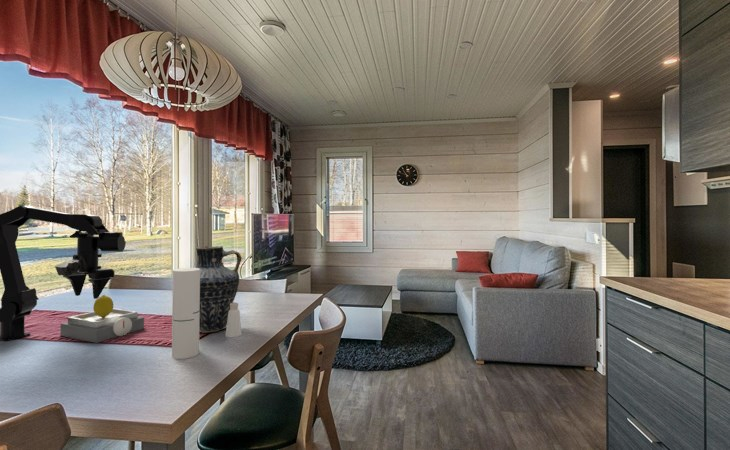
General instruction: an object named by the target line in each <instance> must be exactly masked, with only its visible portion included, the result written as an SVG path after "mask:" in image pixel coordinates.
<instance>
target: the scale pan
mask: <svg viewBox="0 0 730 450" xmlns="http://www.w3.org/2000/svg"><path fill="white" fill-rule="evenodd" d="M138 313H139V312H138V311H135V310H128V309H121V308H115V307H113V310H112V312H111V313H110V314H109V315H107V316H106V317H105V318H102V317H100V316H97V315H96V314H95V313H94V311H90V312H86V313H81V314H77V315H72V316H68V317H67V322H68V323H69V324H74V325H79V326H85V327H90V328H100V327H103V326H107V325H111V324H114V323H115V322H116V321H117V320H118V319H120V318H123V317H126V318H129V319H133V318H137V317H139V316H138Z"/></svg>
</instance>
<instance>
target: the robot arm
mask: <svg viewBox="0 0 730 450" xmlns="http://www.w3.org/2000/svg"><path fill="white" fill-rule="evenodd" d="M30 220H33V221H34V220H35V221H42V222H46V223H53V224H59V225H64V226H66V227H68V228H69V229H70V228H71V229H73V230H75V231H74V232H73V233H72V234H71V235H69V238H71V239H77V242H76V243H77V244H76V245H77V246H76V248H77V249H76V250H77V251H76V253H75V254H73V255H72V259H70V260H67V261H64V262H62V263H58V264H57V265H55V266H54V267H55V270H56V272H57V275H58V276H62V277H63V278H65V279H67V280H68V281H69V282H70V284H71V287H72V289H73V293H74V294H75V296H76V297H77V296H80V295H81V294H82V290H83V288H84V284H85V281H86V278H87V276H88V278H89V279H87V281H88V282H89V283H90V284H92V285H91V286H92V296H93V299H98V298H99V297H100V295H101V294H102V291H103V290H104V288H105V287H106V286H107V285H108V282H109V281H110V280H112V279H113V278H115V273H116V272H115V270H114V269H113V268H107V267H103V268H102V265H99V258H102V253H99V250H100V251H101V252H108V253H109V252H110V253H111V252H113V253H117V252H118V253H122V252H124V250H125V248H126V240H125V237H124V233H123V231H118V232H111V231H109V230H108V229H107V227H106V226H105V225H104V224H103V220H102V218H101V217H100V216H99V215H97V214H80V213H77V214H76V213H66V212H61V211H56V210H50V209H46V208H44V209H43V208H41V207H40V208H39V207H35V206H32V205H19V206H16V207H14V208H12V209H11V210H7V211H5V212H2V213H0V277H1V279H2V284H3V287H4V291H3V293H2V296H1V298H0V304H1V305H0V341H4V342H6V341H7V342H8V341H11V340H15V339H20V338H23V337H28V336H31V333H30V332H25V330H26V329H25V328H26V327H25V326H26V325H25V324H26V323H25V322H26V317H27V316H29V315H31V313H32V311H33V310H34V308H35V307H36V306H37V305H38V300H39V297H38V296H37V290H36V288H34V287H33V288H29V287H28V286H27V284H26V282H25V281H26V280H25V277H24V274H23V269H22V266H21V262H20V257H19V254H18V253H19V252H18V249H17V245H16V244H17V243H16V242H17V239H18V237H19V234H20V233H19V232H20V231H19V228H21V227H22V226H24V225H26V224H27V223H28V221H30Z"/></svg>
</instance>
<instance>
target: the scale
mask: <svg viewBox="0 0 730 450" xmlns="http://www.w3.org/2000/svg"><path fill="white" fill-rule="evenodd" d="M143 329H145V317H144V316H138V317H137V318H133V319H129V318H126V317H123V318H120V319H118V320H117V321H116V322H115V323H114V324H111V325H107V326H103V327H100V328H90V327H85V326H79V325H74V324H69V323H68V321H66V322H61V323H60V336H61V337H66V338H70V339H76V340H81V341H85V342H91V343H96V344H97V343H102V342H104V341H107V339H108V340H110V338H111V339H114V338H116V337H117V336H118V337H123V335H124V336H125V335H127V333H128V334H131V333H134V332H137V331H141V330H143ZM118 337H117V338H118Z"/></svg>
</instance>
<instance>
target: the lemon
mask: <svg viewBox="0 0 730 450" xmlns="http://www.w3.org/2000/svg"><path fill="white" fill-rule="evenodd" d="M113 308H114V301H113V298H111V297H110V296H108V295H105V294H103V295H101V296H99V297H98V298H97V299H96V300H95V301H94V303H93V312H94V313H95V314H96V315H97V316H100V317H102V318H105V317H106V316H107V315H109V314H110V313H111V312H112V310H113Z"/></svg>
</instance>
